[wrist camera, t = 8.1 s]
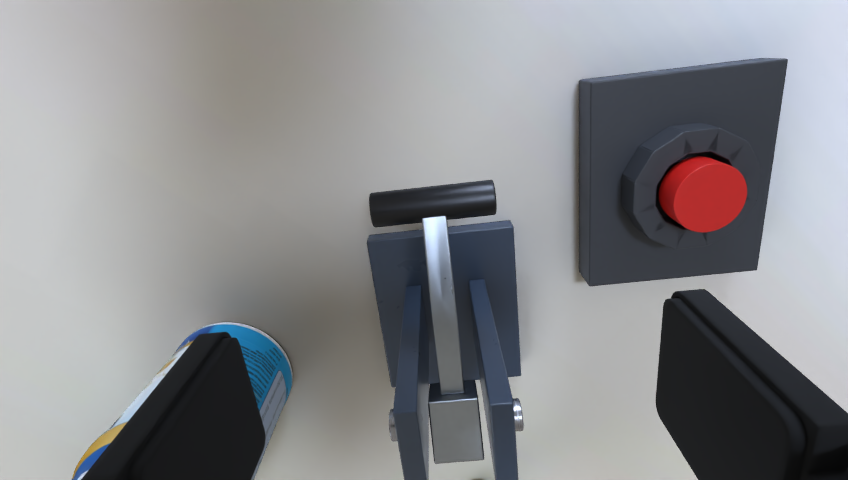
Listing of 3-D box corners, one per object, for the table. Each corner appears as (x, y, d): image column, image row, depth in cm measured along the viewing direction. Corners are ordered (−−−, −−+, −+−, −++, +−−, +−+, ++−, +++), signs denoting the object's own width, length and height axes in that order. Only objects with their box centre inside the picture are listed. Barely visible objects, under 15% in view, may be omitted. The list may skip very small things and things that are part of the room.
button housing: (578, 79, 27) (602, 84, 24) (761, 57, 27) (815, 59, 23) (578, 271, 32) (598, 301, 28) (736, 256, 31) (777, 284, 27)
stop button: (660, 160, 25) (676, 167, 24) (731, 152, 25) (752, 159, 23) (656, 224, 27) (671, 236, 25) (723, 217, 26) (743, 228, 25)
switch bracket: (368, 234, 31) (330, 350, 19) (510, 219, 30) (562, 329, 18) (392, 377, 35) (373, 546, 23) (518, 365, 34) (565, 533, 22)
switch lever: (374, 193, 23) (366, 192, 21) (489, 181, 23) (495, 177, 20) (402, 441, 24) (397, 467, 21) (514, 432, 24) (522, 457, 21)
